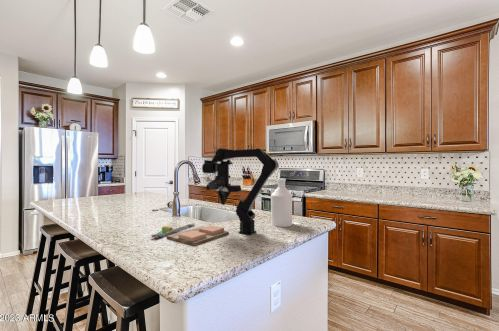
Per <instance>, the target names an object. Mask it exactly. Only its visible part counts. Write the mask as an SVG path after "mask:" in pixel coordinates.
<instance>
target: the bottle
mask: <svg viewBox="0 0 499 331" xmlns="http://www.w3.org/2000/svg"><path fill="white" fill-rule="evenodd" d="M286 180H287V178H277V187H276V189H274V191H273V192H272V193H270V220H271V223H270V224H271V225H272V226H274V227H280V228H282V227H284V228H285V227H286V228H287V227H291V226H292V225H293V194H292V193H291V192H290V191H289V190H288V189H287V187H286Z"/></svg>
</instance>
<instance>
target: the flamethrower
mask: <svg viewBox="0 0 499 331" xmlns="http://www.w3.org/2000/svg"><path fill="white" fill-rule="evenodd" d="M192 227H195V223H190V224H186V225H183V226H180V227H177V228H173V227H172V226H166V225H163V226H162V227H161V230H160V231H158V232H157V233H155V234H151V238H154V239H158V238H161V237H166V236H168V235H172V234H175V233H179V232H181V230H184V229H187V228H192Z"/></svg>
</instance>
